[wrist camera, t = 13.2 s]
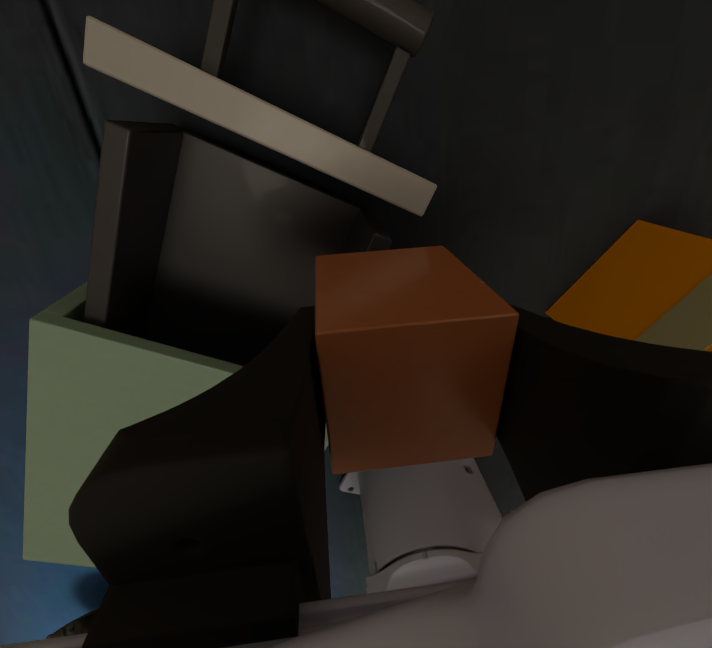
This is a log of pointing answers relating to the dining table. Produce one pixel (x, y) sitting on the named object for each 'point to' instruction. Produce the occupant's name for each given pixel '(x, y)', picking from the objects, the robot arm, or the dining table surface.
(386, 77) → the cream drawer
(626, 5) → the dining table surface
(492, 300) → the rust orange cube
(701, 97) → the dining table surface
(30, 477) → the green drawer box
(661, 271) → the orange juice
